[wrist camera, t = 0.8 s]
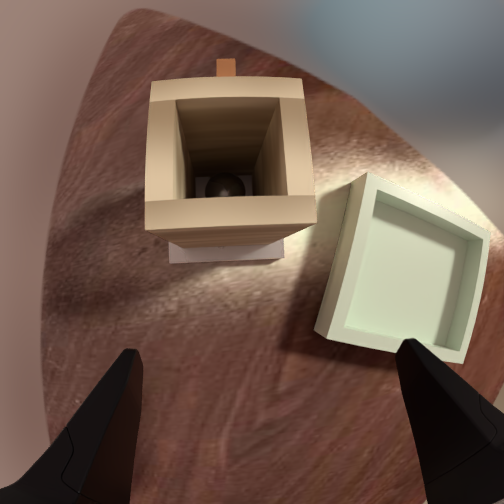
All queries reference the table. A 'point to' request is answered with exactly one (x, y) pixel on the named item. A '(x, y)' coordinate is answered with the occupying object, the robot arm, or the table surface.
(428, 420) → the robot arm
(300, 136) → the birch sleeve
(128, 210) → the table surface
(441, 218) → the green tray
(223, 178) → the stand
